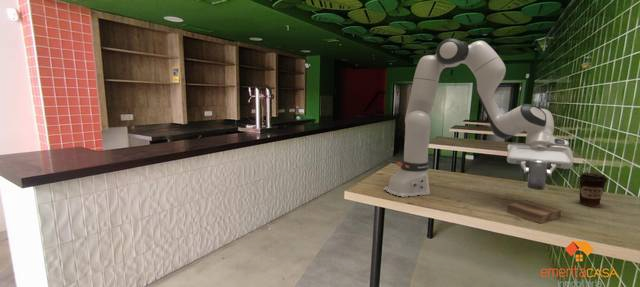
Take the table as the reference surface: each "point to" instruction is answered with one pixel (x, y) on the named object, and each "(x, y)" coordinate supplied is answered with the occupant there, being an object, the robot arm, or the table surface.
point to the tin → (537, 174)
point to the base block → (533, 211)
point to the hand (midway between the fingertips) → (537, 174)
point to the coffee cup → (591, 188)
